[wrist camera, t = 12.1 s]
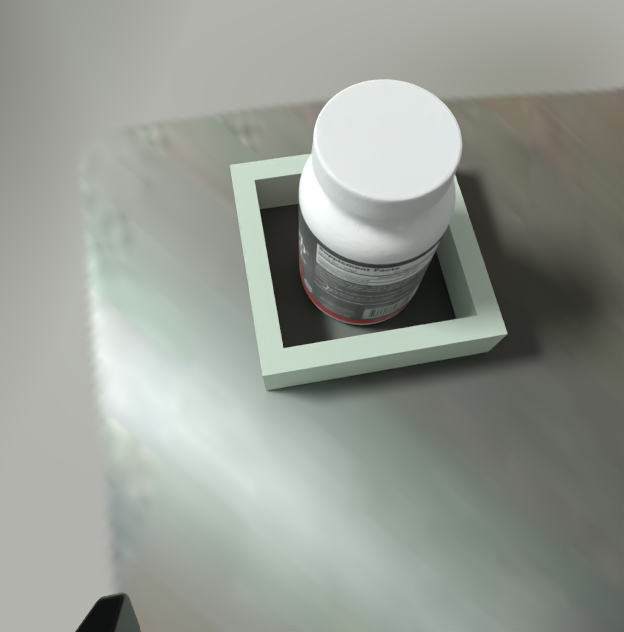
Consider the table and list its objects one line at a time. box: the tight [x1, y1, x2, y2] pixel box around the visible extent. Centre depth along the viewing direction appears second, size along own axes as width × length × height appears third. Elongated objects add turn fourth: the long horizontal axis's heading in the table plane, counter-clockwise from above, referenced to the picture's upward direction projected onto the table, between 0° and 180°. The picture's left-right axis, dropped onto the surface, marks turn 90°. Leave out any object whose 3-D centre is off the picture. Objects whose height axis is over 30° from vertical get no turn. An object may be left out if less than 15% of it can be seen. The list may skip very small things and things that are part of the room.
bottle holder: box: [230, 154, 507, 391], centre depth 25 cm, size 10×10×2 cm
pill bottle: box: [298, 79, 462, 325], centre depth 21 cm, size 6×6×10 cm
